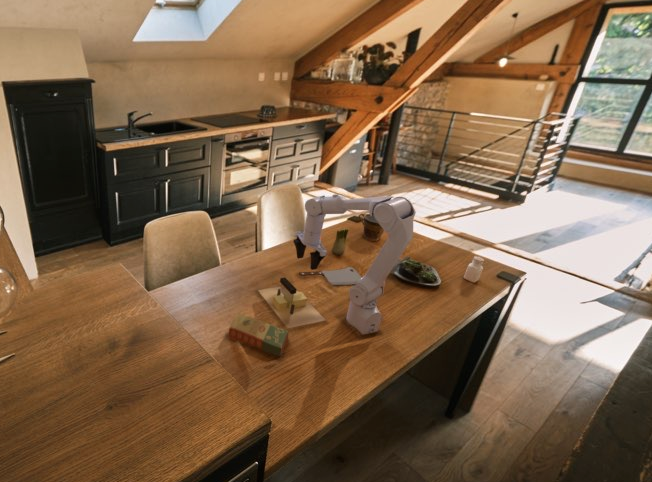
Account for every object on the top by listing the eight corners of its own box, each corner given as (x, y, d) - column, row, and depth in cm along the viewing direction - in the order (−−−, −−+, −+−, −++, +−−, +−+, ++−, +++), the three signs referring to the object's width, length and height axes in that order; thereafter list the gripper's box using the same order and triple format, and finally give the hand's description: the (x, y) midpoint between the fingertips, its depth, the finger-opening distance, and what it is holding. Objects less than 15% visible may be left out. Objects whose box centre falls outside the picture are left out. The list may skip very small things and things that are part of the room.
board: (325, 322, 123) (328, 311, 122) (287, 330, 120) (289, 319, 118) (291, 286, 141) (293, 276, 139) (257, 292, 137) (258, 282, 135)
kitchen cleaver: (306, 285, 140) (295, 268, 149) (306, 287, 141) (295, 270, 150) (368, 282, 144) (353, 266, 152) (367, 284, 144) (353, 268, 153)
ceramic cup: (387, 239, 176) (392, 220, 172) (374, 245, 171) (380, 225, 167) (362, 228, 186) (366, 209, 182) (349, 232, 181) (353, 213, 177)
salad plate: (385, 255, 163) (387, 246, 161) (433, 265, 156) (436, 256, 155) (388, 280, 146) (391, 269, 145) (442, 292, 140) (446, 282, 138)
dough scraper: (294, 303, 125) (296, 289, 123) (289, 304, 125) (291, 290, 123) (282, 290, 131) (285, 277, 129) (278, 291, 131) (280, 277, 129)
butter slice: (286, 309, 127) (287, 302, 126) (278, 311, 127) (279, 303, 125) (279, 302, 131) (281, 294, 130) (272, 303, 130) (273, 296, 129)
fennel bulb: (342, 251, 165) (347, 226, 160) (346, 257, 161) (352, 232, 156) (328, 250, 165) (333, 226, 161) (332, 256, 161) (337, 231, 156)
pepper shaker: (467, 275, 151) (475, 254, 147) (478, 280, 148) (487, 259, 144) (462, 278, 149) (470, 257, 145) (474, 283, 146) (483, 262, 142)
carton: (237, 322, 123) (238, 311, 121) (287, 341, 116) (289, 330, 114) (227, 338, 116) (229, 327, 114) (280, 359, 109) (282, 348, 107)
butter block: (306, 305, 130) (307, 298, 128) (289, 308, 128) (290, 301, 127) (299, 298, 133) (300, 291, 132) (282, 301, 131) (284, 294, 130)
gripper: (337, 237, 126) (329, 272, 132) (308, 219, 139) (303, 251, 144) (319, 241, 124) (312, 276, 130) (292, 221, 137) (287, 254, 142)
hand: (306, 263), depth 137 cm, fingers open, 7 cm apart
